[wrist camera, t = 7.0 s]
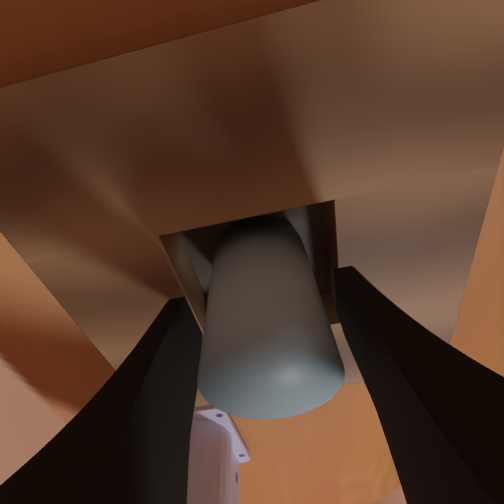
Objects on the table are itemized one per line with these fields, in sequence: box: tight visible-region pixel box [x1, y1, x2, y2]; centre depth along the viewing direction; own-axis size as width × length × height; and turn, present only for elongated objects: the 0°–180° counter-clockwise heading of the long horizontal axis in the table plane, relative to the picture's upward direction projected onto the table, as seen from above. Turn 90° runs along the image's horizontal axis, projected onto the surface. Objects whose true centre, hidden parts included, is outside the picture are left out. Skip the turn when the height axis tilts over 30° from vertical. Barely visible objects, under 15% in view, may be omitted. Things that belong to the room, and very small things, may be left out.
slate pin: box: [197, 216, 345, 419], centre depth 10 cm, size 4×4×6 cm
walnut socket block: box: [0, 0, 504, 407], centre depth 12 cm, size 16×16×2 cm
